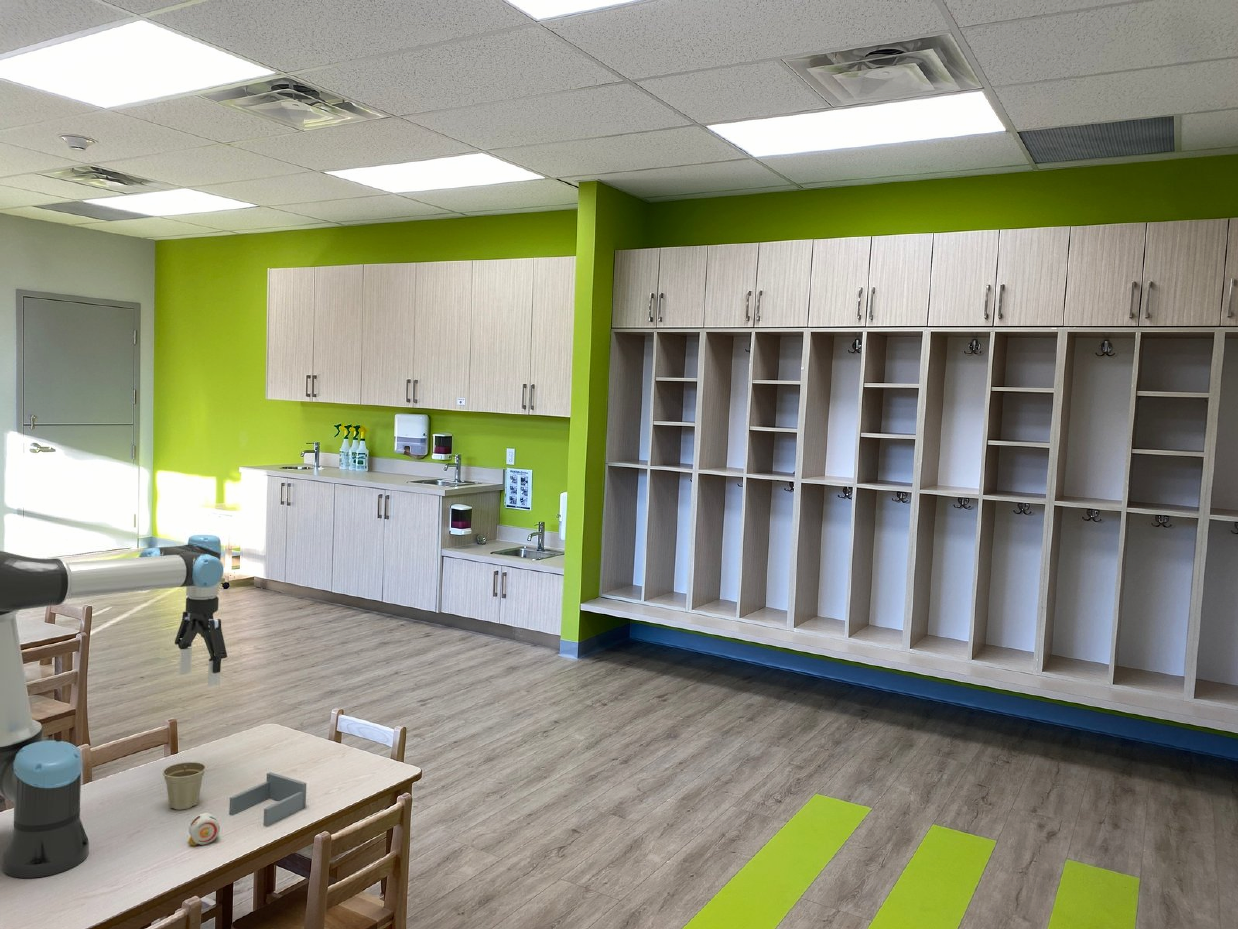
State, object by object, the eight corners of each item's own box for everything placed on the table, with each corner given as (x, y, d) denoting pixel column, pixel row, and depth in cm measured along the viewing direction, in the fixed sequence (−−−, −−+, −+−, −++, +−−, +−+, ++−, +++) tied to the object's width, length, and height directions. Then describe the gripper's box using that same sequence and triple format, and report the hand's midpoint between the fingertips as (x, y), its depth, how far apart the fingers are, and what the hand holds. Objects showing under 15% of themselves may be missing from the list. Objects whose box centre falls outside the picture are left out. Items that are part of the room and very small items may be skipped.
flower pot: (155, 803, 215) (156, 767, 215) (196, 792, 222) (197, 758, 221) (169, 817, 208) (170, 780, 208) (211, 806, 215) (212, 770, 215)
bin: (266, 826, 206) (267, 801, 206) (229, 814, 211) (230, 789, 211) (305, 807, 217) (306, 783, 217) (269, 795, 222) (269, 772, 222)
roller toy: (221, 843, 198) (222, 817, 197) (189, 849, 194) (190, 823, 194) (217, 834, 201) (217, 809, 201) (186, 841, 198) (186, 815, 197)
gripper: (244, 602, 223) (240, 687, 224) (190, 587, 237) (187, 666, 238) (215, 606, 217) (211, 693, 218) (162, 590, 231) (159, 671, 232)
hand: (199, 679), depth 228 cm, fingers open, 13 cm apart
